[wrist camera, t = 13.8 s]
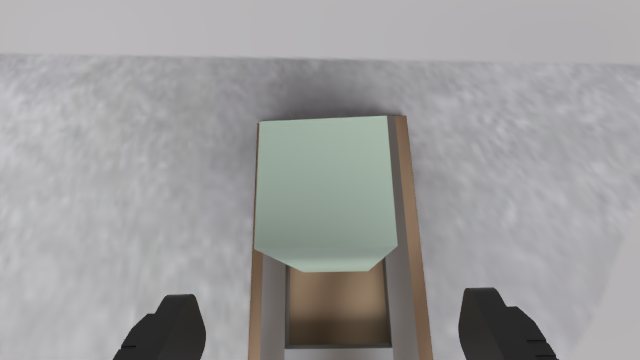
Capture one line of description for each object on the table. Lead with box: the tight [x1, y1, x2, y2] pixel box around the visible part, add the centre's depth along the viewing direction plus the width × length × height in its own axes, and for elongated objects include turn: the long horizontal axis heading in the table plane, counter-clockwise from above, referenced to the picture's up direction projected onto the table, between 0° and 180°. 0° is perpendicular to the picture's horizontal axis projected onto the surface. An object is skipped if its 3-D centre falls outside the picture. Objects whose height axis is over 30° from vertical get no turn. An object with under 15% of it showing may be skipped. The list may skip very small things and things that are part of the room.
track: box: [248, 115, 433, 360], centre depth 24 cm, size 12×19×3 cm, turn 1°
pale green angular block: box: [254, 116, 398, 272], centre depth 18 cm, size 4×4×14 cm
